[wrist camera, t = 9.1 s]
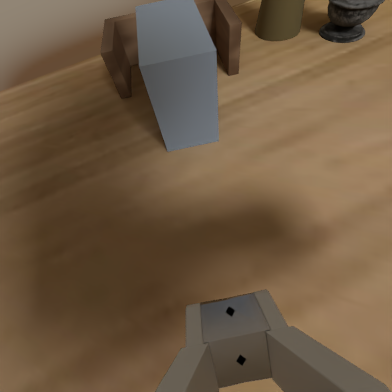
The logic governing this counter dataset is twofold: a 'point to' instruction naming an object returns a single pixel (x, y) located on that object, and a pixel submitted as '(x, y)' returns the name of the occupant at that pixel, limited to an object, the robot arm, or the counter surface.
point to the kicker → (179, 71)
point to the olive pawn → (279, 19)
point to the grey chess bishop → (347, 19)
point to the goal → (128, 44)
